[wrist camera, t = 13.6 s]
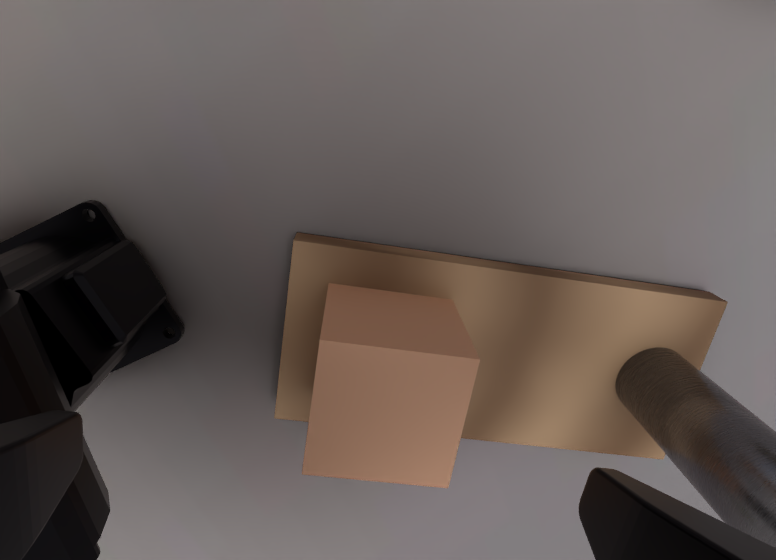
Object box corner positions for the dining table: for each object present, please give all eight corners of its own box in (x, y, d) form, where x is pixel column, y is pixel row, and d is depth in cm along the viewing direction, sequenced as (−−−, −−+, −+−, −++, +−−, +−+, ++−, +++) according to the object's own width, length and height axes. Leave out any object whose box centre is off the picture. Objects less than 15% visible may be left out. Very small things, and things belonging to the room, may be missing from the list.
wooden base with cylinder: (278, 402, 23) (193, 732, 11) (296, 232, 21) (211, 423, 9) (649, 443, 25) (917, 762, 13) (709, 291, 23) (1110, 516, 11)
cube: (313, 392, 22) (301, 474, 17) (328, 282, 20) (319, 339, 15) (429, 405, 22) (448, 488, 18) (452, 299, 21) (480, 359, 16)
